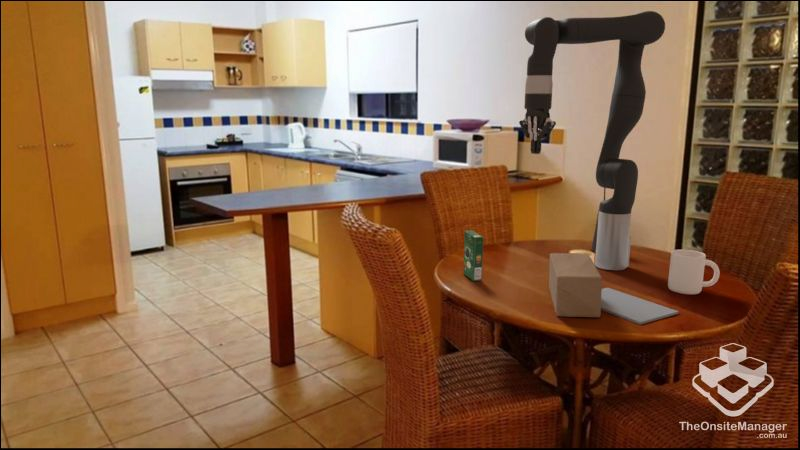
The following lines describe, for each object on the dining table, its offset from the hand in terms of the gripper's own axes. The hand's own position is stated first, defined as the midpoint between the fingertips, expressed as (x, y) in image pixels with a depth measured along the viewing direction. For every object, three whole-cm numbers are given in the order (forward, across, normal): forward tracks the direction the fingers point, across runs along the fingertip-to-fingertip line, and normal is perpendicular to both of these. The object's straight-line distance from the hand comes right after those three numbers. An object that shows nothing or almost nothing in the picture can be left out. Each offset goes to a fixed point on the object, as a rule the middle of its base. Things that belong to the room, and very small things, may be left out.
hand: (535, 153), depth 167 cm
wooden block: (+29, -21, +6) cm, 36 cm away
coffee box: (+35, +2, +20) cm, 41 cm away
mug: (+35, -37, -24) cm, 56 cm away
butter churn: (+35, +4, -36) cm, 51 cm away
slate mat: (+35, -36, +2) cm, 50 cm away
